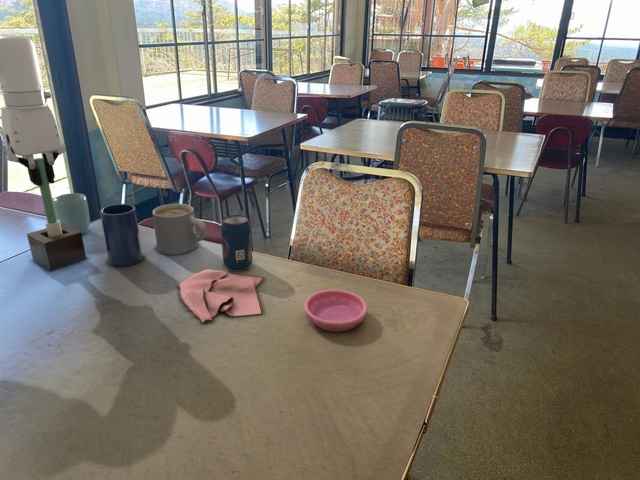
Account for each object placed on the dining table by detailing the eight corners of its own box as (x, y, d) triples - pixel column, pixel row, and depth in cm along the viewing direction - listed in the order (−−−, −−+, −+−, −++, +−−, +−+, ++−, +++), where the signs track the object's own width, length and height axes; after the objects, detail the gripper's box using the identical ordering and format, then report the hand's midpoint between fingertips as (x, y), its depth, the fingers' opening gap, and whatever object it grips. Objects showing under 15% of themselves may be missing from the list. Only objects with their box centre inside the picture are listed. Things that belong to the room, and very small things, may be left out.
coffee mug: (148, 249, 122) (143, 212, 118) (175, 235, 131) (171, 201, 127) (189, 260, 117) (185, 222, 113) (215, 246, 125) (212, 210, 121)
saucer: (347, 344, 87) (347, 330, 86) (291, 322, 93) (291, 309, 92) (377, 314, 97) (378, 300, 95) (325, 296, 103) (326, 283, 102)
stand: (33, 260, 115) (26, 233, 113) (68, 248, 122) (63, 223, 119) (50, 271, 111) (44, 243, 108) (86, 258, 117) (81, 231, 114)
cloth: (203, 267, 114) (202, 257, 113) (287, 284, 107) (287, 274, 106) (147, 309, 96) (145, 299, 95) (244, 333, 90) (243, 322, 89)
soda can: (221, 261, 117) (217, 215, 112) (249, 257, 119) (247, 212, 114) (226, 274, 111) (222, 226, 106) (255, 270, 113) (253, 223, 108)
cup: (80, 239, 127) (74, 203, 123) (54, 236, 128) (46, 201, 124) (97, 228, 134) (91, 194, 130) (72, 226, 135) (65, 192, 131)
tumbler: (102, 260, 116) (93, 209, 111) (130, 250, 122) (123, 201, 117) (120, 269, 112) (111, 217, 107) (148, 258, 118) (141, 208, 112)
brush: (47, 241, 114) (28, 159, 106) (60, 238, 116) (42, 156, 108) (53, 245, 112) (34, 161, 104) (66, 241, 115) (48, 158, 106)
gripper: (54, 94, 109) (70, 173, 116) (-25, 101, 97) (-2, 188, 105) (71, 97, 105) (86, 179, 112) (-10, 105, 93) (13, 195, 101)
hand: (43, 182), depth 108 cm, fingers closed on brush, 2 cm apart
